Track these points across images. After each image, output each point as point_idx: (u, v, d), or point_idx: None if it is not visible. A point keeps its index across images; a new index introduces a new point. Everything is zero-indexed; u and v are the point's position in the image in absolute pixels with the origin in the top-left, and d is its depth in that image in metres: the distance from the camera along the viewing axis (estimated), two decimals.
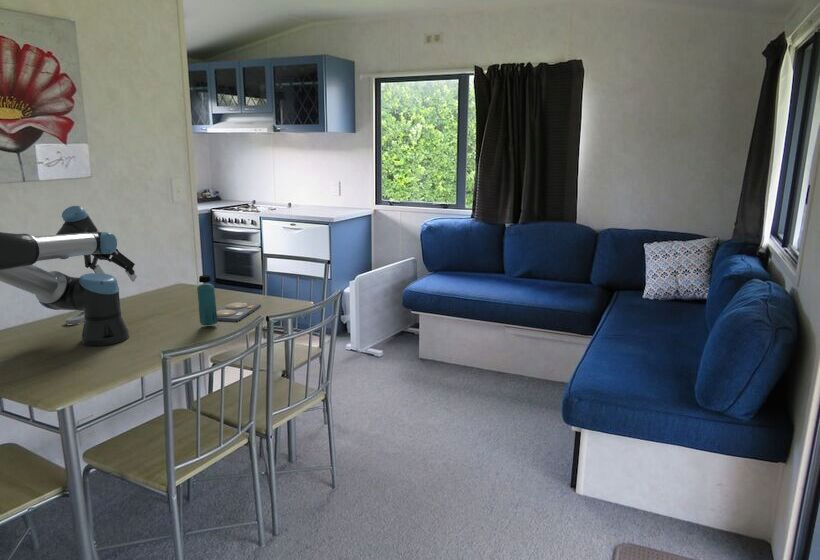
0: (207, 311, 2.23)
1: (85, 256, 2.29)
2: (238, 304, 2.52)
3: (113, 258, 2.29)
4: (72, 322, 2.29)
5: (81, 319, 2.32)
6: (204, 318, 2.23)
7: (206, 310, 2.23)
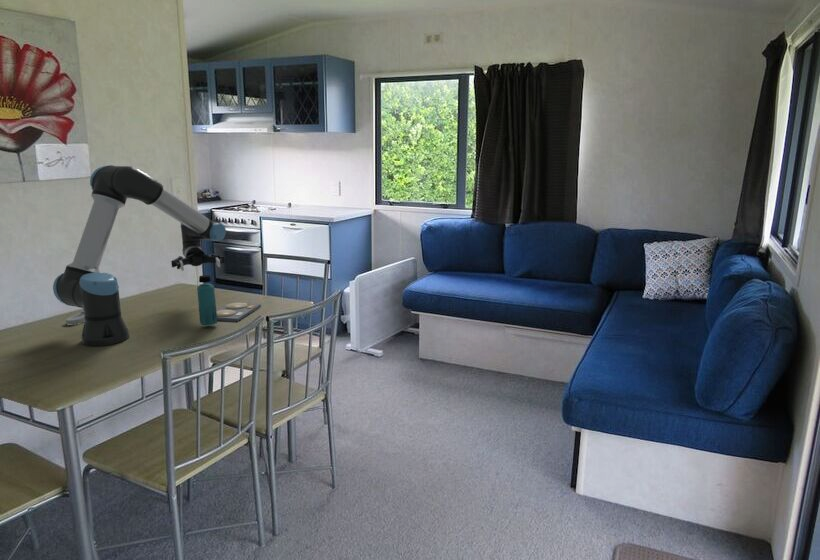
0: (207, 311, 2.23)
1: (179, 257, 2.40)
2: (238, 304, 2.52)
3: None
4: (72, 322, 2.29)
5: (81, 319, 2.32)
6: (204, 318, 2.23)
7: (206, 310, 2.23)
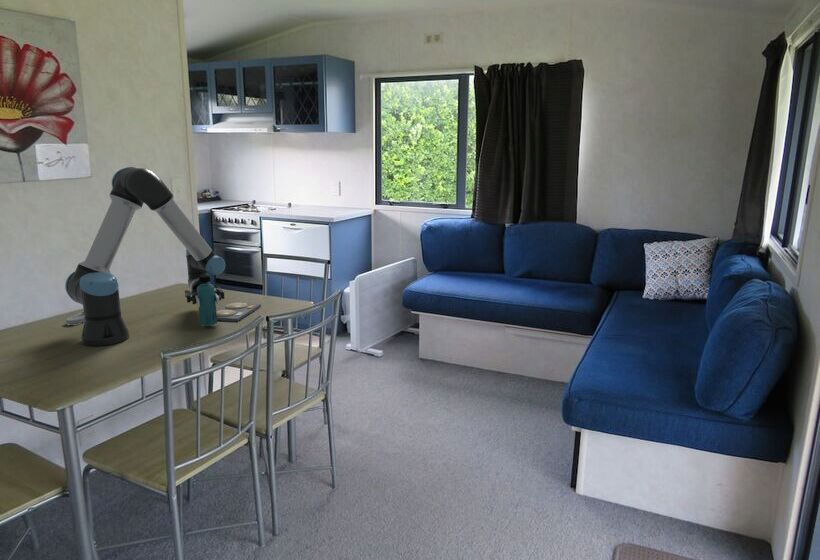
0: (207, 311, 2.23)
1: (187, 291, 2.30)
2: (238, 304, 2.52)
3: None
4: (72, 322, 2.29)
5: (81, 319, 2.31)
6: (204, 318, 2.23)
7: (206, 310, 2.23)
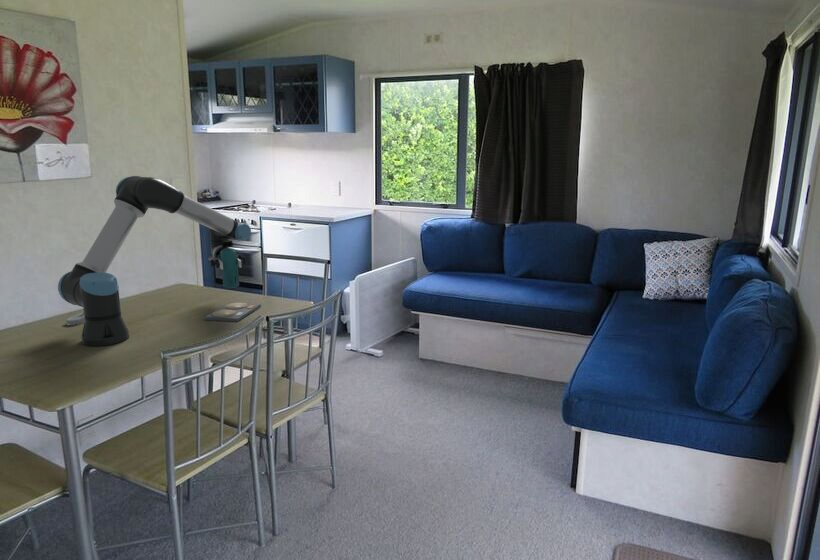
0: (230, 273, 2.37)
1: (211, 256, 2.45)
2: (238, 304, 2.52)
3: None
4: (72, 322, 2.29)
5: (81, 319, 2.31)
6: (227, 281, 2.37)
7: (229, 273, 2.37)
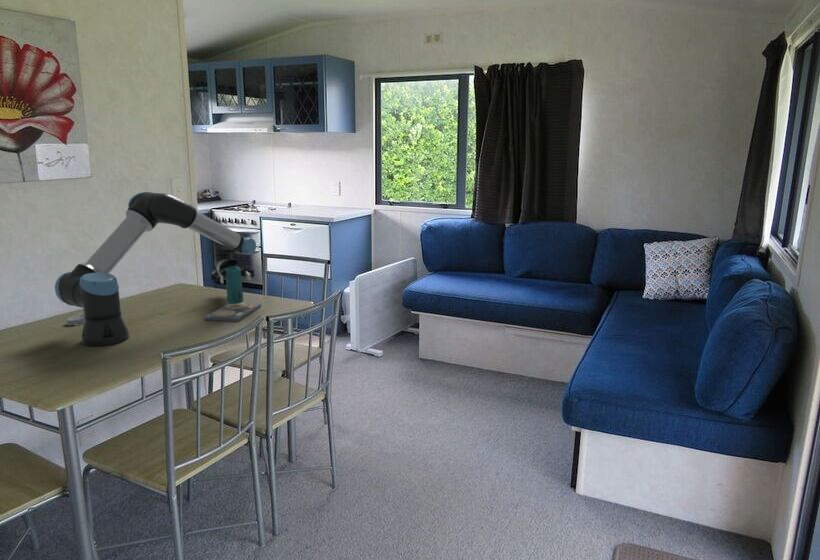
0: (235, 290, 2.46)
1: (215, 270, 2.54)
2: (238, 304, 2.52)
3: None
4: (71, 322, 2.28)
5: (81, 320, 2.31)
6: (232, 297, 2.46)
7: (233, 290, 2.46)
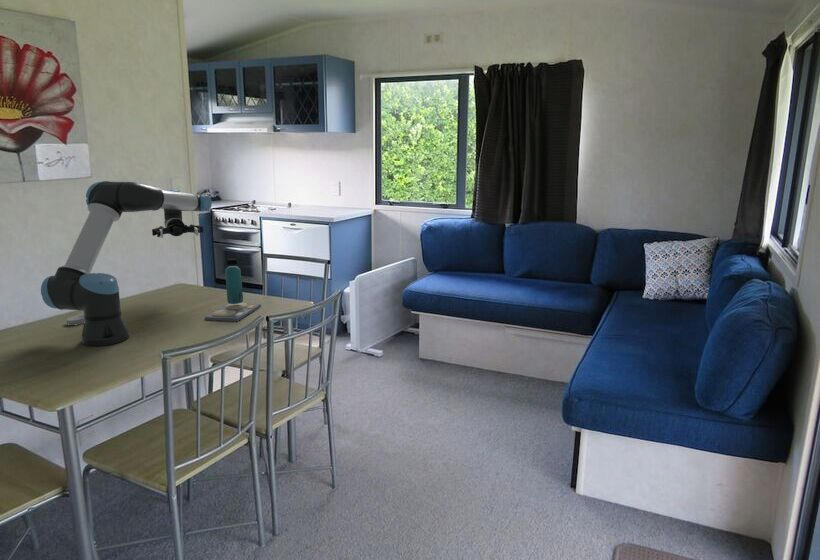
0: (235, 290, 2.46)
1: (160, 227, 2.54)
2: (238, 304, 2.52)
3: None
4: (71, 322, 2.28)
5: (81, 320, 2.31)
6: (232, 297, 2.46)
7: (233, 290, 2.46)
